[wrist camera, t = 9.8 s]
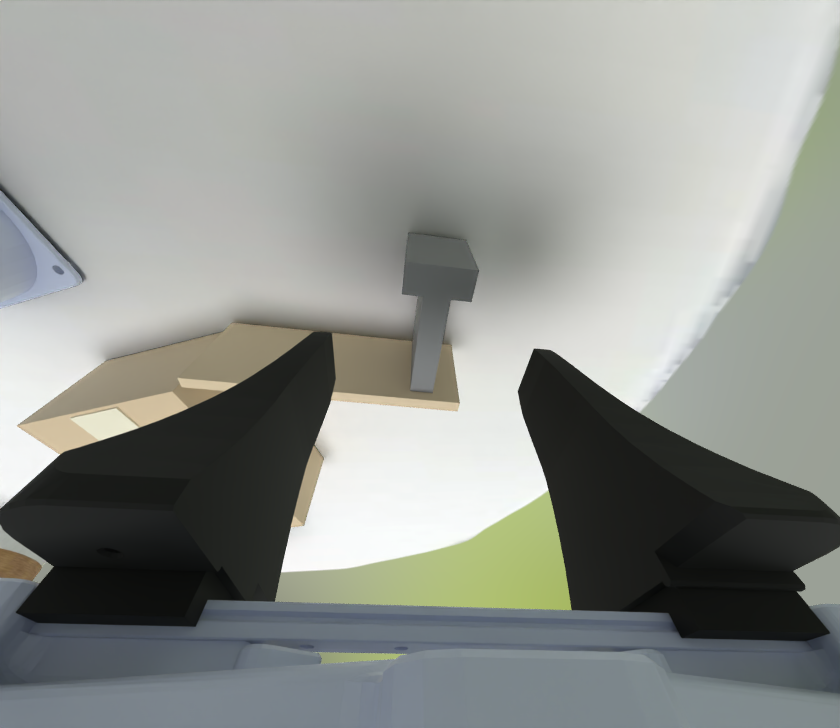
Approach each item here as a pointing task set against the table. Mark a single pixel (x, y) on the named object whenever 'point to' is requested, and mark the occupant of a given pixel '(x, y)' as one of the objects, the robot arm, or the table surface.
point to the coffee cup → (17, 559)
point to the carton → (136, 405)
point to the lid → (366, 340)
